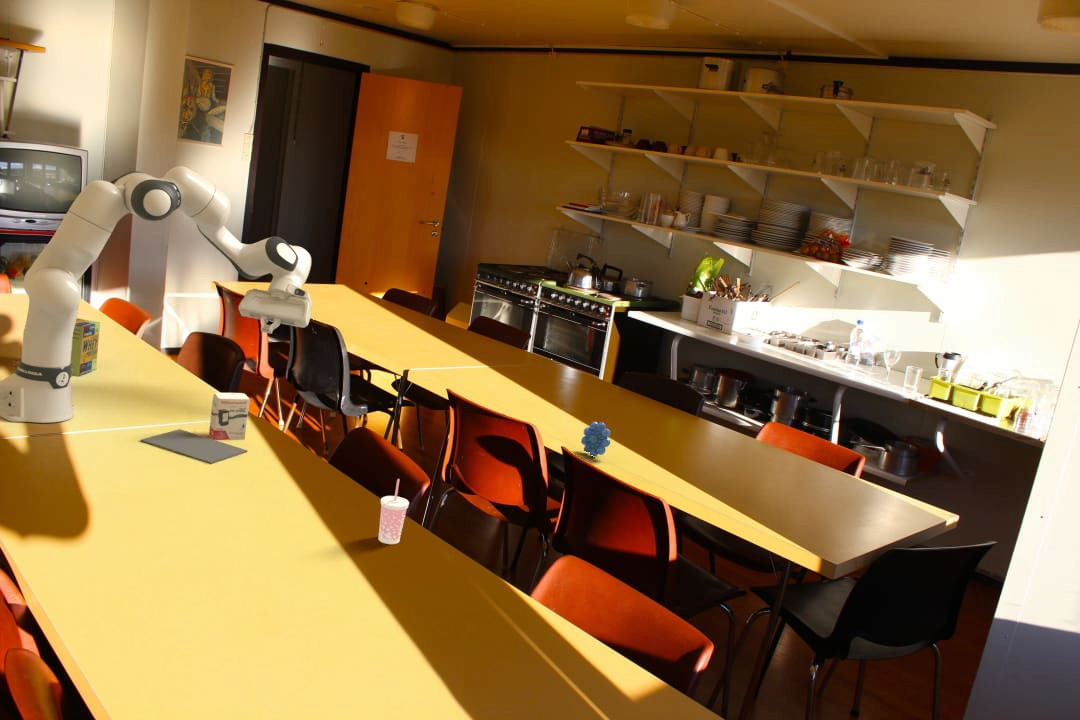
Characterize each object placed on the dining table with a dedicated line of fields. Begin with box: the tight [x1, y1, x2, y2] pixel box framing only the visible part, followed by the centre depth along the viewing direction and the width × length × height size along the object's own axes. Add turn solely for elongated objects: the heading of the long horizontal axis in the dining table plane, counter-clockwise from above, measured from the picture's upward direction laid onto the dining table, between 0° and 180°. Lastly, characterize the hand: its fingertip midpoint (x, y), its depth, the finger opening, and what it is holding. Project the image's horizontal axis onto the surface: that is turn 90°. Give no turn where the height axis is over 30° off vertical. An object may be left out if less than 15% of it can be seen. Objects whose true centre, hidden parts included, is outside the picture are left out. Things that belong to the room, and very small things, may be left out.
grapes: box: [580, 421, 611, 457], centre depth 285 cm, size 12×7×12 cm, turn 42°
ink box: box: [208, 392, 251, 441], centre depth 240 cm, size 8×5×12 cm, turn 123°
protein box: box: [70, 317, 101, 377], centre depth 274 cm, size 10×15×16 cm
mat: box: [139, 428, 249, 465], centre depth 230 cm, size 22×14×1 cm, turn 70°
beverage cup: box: [378, 478, 410, 545], centre depth 194 cm, size 6×6×14 cm
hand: (265, 331), depth 255 cm, fingers closed
